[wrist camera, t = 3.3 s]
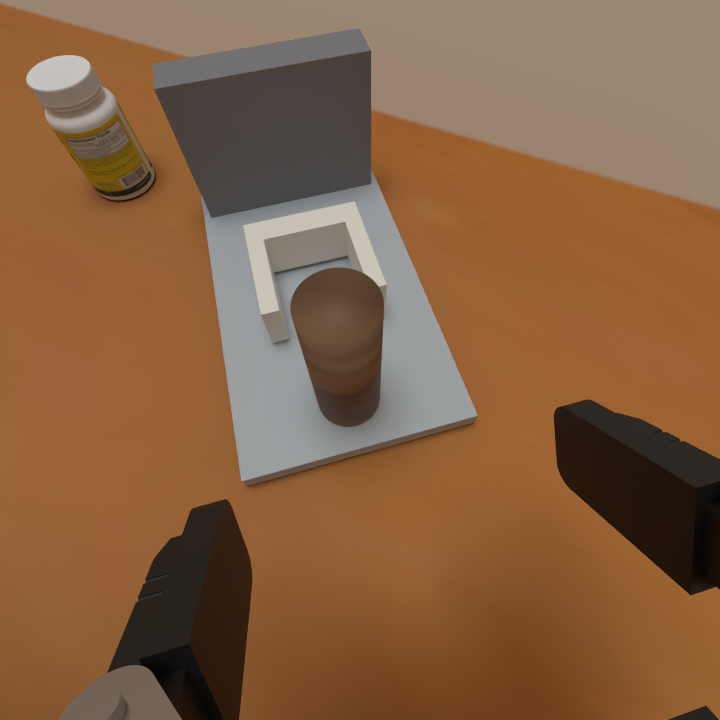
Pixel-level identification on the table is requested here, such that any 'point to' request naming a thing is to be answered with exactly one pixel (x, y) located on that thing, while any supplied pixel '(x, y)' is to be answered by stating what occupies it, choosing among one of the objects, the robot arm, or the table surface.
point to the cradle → (306, 253)
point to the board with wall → (292, 196)
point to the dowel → (341, 341)
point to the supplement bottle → (91, 126)
